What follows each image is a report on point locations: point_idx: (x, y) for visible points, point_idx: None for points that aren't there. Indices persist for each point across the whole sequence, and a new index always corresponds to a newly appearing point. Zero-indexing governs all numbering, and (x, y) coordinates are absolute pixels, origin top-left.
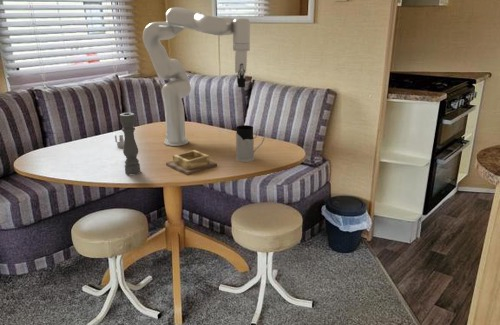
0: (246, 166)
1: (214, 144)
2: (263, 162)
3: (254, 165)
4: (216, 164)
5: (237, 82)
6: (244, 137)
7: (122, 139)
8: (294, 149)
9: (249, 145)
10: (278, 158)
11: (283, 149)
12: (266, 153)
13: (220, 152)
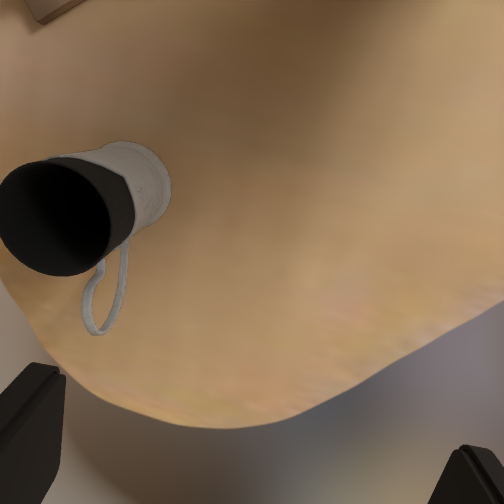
0: None
1: (400, 85)
2: None
3: None
4: (36, 18)
5: (480, 461)
6: (26, 194)
7: None
8: (207, 413)
9: (55, 213)
10: None
11: (218, 376)
12: (182, 297)
13: (251, 89)
